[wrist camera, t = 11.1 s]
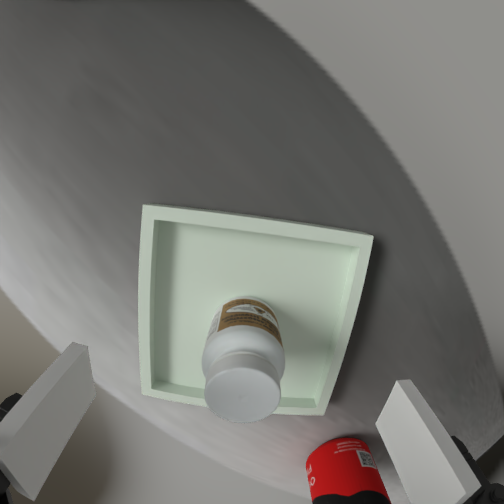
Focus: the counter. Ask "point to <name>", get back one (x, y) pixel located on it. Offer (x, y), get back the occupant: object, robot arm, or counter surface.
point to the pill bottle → (243, 361)
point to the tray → (246, 284)
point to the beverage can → (345, 474)
